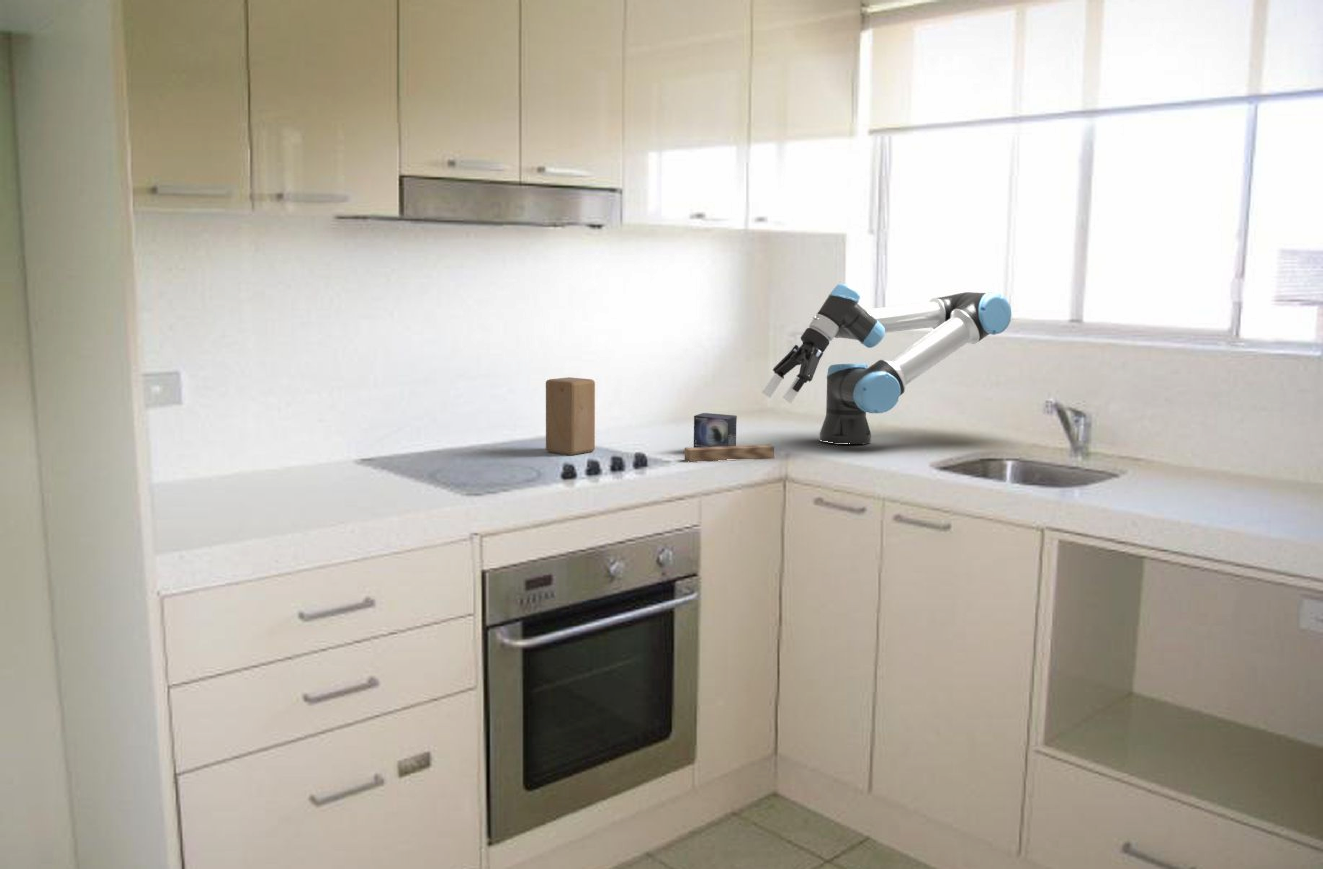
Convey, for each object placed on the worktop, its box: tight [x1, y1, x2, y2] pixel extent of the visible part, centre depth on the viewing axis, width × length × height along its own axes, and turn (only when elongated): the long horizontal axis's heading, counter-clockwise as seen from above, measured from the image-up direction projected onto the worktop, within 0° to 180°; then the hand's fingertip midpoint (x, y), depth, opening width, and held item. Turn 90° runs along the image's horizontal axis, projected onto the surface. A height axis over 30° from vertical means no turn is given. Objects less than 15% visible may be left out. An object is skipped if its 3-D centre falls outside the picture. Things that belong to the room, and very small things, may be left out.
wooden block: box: [545, 377, 596, 456], centre depth 301 cm, size 10×10×20 cm
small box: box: [693, 412, 738, 448], centre depth 303 cm, size 11×6×10 cm, turn 62°
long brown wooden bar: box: [683, 444, 775, 463], centre depth 293 cm, size 24×4×4 cm, turn 108°
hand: (776, 397), depth 303 cm, fingers open, 13 cm apart
